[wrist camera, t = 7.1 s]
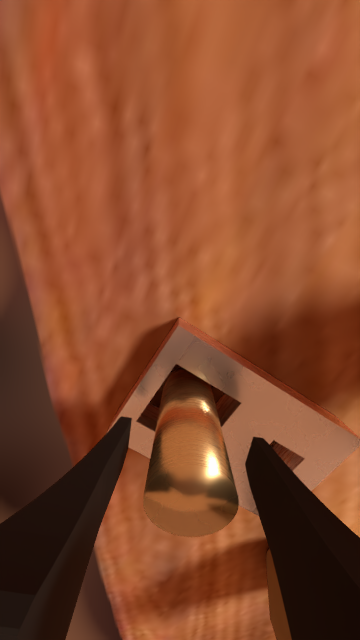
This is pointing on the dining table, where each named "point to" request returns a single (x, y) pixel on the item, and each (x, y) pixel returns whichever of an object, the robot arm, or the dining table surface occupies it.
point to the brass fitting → (189, 462)
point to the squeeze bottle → (276, 602)
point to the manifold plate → (241, 410)
